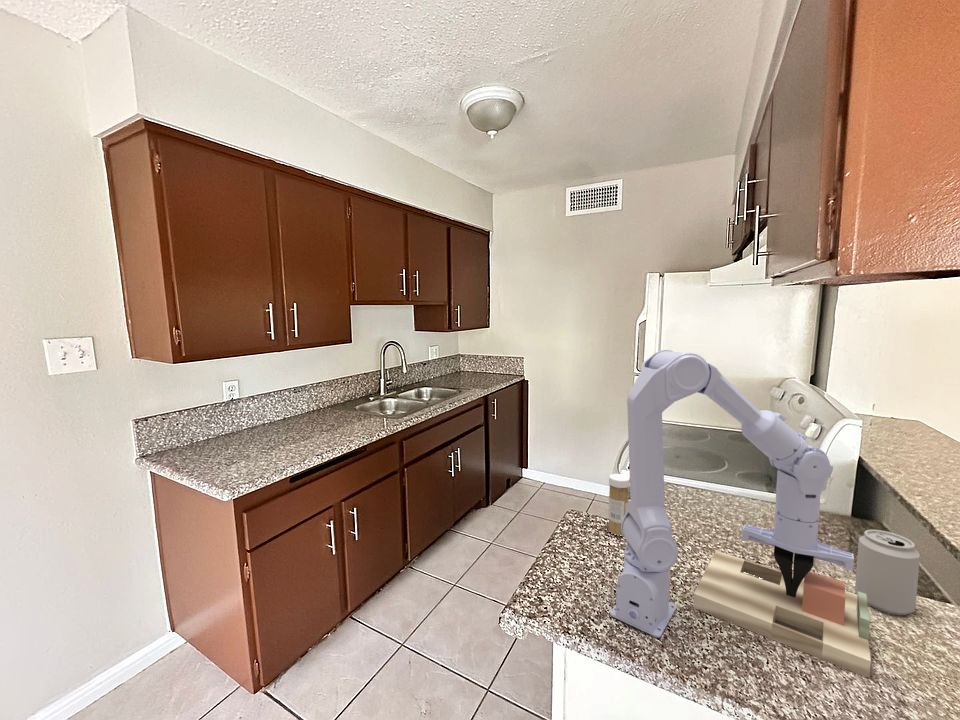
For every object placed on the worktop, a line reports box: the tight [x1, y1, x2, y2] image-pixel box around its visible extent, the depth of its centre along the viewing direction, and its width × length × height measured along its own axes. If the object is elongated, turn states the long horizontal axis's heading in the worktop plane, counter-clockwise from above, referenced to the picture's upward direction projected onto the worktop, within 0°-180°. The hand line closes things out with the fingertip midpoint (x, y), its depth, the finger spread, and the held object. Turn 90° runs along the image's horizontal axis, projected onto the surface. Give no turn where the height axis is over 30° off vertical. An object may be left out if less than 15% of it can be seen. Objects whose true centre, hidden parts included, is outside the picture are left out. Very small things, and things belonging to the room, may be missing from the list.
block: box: [802, 571, 846, 626], centre depth 66 cm, size 5×5×4 cm
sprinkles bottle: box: [607, 473, 630, 535], centre depth 96 cm, size 5×5×13 cm
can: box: [854, 529, 921, 616], centre depth 71 cm, size 8×8×12 cm
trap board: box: [692, 550, 872, 679], centre depth 70 cm, size 18×22×6 cm
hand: (791, 593), depth 69 cm, fingers closed
